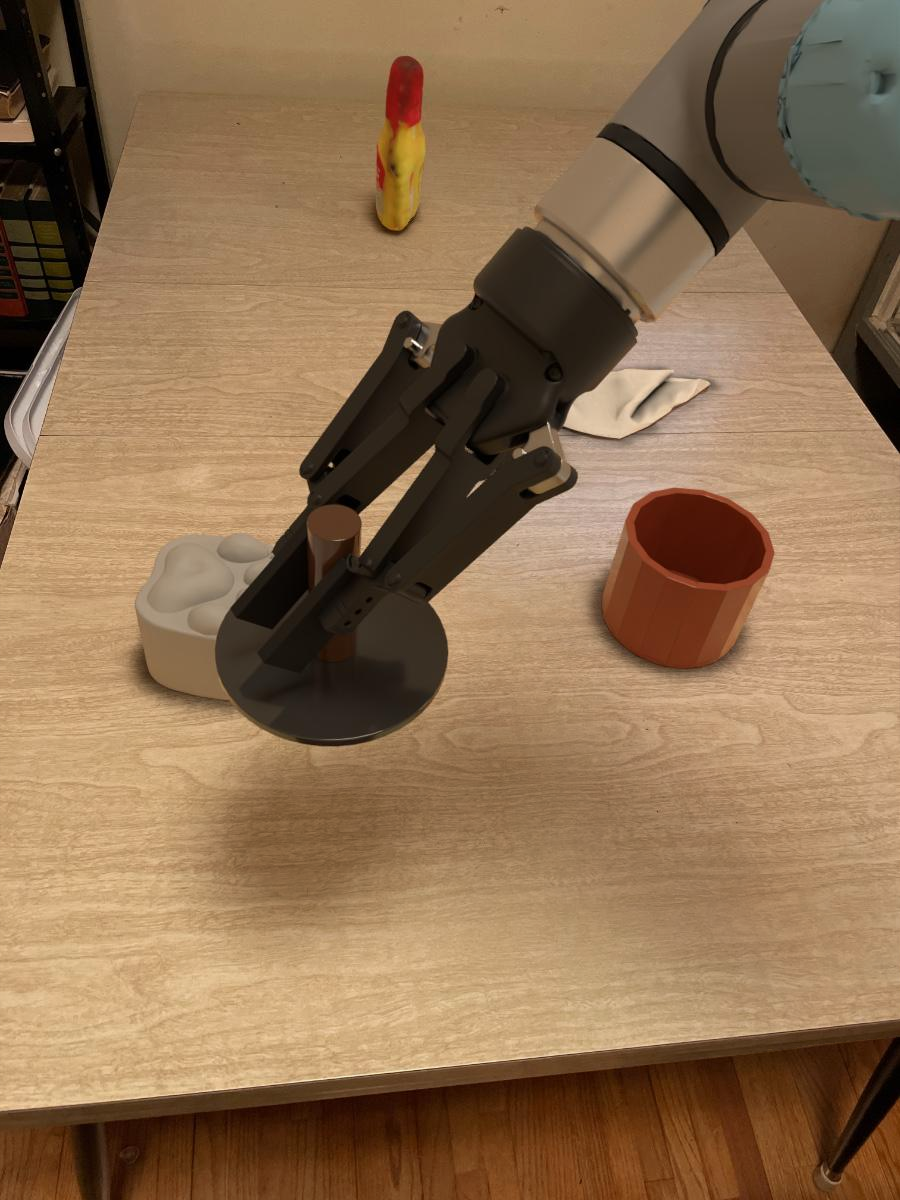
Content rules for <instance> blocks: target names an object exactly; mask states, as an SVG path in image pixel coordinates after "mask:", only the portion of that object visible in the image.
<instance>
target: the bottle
mask: <svg viewBox="0 0 900 1200" xmlns="http://www.w3.org/2000/svg"><path fill="white" fill-rule="evenodd" d="M389 69H390V70H389V75H388V80H387V86H386V96H385V112H384V115H385V116H384V117H385V119H384V120H385V121H384V125H383V127H382V129H381V131H380V134H379V137H378V139H377V143H376V161H375V163H376V165H375V166H376V167H375V171H376V173H375V209H376V214H377V218H378V219H379V221H380V223H381V225H383V226H384V227H385V228H386V229H388V230H391V231H396V232H398V231H399V232H400V231H402V230H404V228H405V227H406V226H408V224H409V223H410V222H409V221H411V220H412V219H413V218H414V217H415V215H416V214H417V210H418V208H417V207H419V205H420V198H421V190H422V182H423V175H424V167H425V160H426V152H427V151H426V150H427V147H426V146H427V145H426V144H427V143H426V136H425V133H424V131H423V129H422V112H423V111H422V106H423V95H424V92H423V91H424V89H423V88H424V79H425V75H424V69H423V67H422V65H421V63H420V62H419V61H418V60H417V59H416V58H414V57H412V56H410V55H401V56H398V57H396V58H395V59H394V61H393V62H392V63H391V66H390V68H389ZM412 217H413V218H412ZM411 218H412V219H411ZM410 219H411V220H410ZM381 221H382V222H381ZM408 222H409V223H408ZM406 223H407V224H406ZM402 227H403V228H402ZM395 228H398V229H395Z"/></svg>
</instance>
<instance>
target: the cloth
mask: <svg viewBox="0 0 900 1200" xmlns="http://www.w3.org/2000/svg"><path fill="white" fill-rule="evenodd" d="M674 374H675V369H640V368H625V369H621V370H618V371H613V370H612V371H611V372H610V373H609V374H608V375H607V376H606V377H605V378H604V380H603V381H602V382H601V383H600V384H599V385H598V386H597V387H596V388H595V389H594V390H592V391H590V392H586V393H583V394H582V395H580V396H579V397H578V398H577V399H576V400H575V401H574V402H573V404H572V406H571V408H570V410H569V412H568V415H567V418H566V421H565V423H564V425H563V427H565V428H567V429H571V430H573V431H577V432H581V433H585V434H587V435H588V434H589V435H593V436H599V437H605V438H612V439H619V440H621V439H622V438H624V437H627V436H629V435H632V434H634V433H636V432H639V431H641V430H643V429H645V428H647V427H649V426H651V425H652V424H653V423H656V421H658V420H660V419H661V418H662V417H664V416H665V415H668V413H670V412H672V409H673V408H675V407H677V406H680V405H682V404H684V403H686V402H688V401H689V400H691V399H692V398H693V397H695V396H696V395H698V394H699V393H701V392H702V391H703V390H704V389H706V388H708V387H709V386H710V385H711V383H710V381H708V380H705V379H703V378H696V379H693V378H680V377H672V376H673V375H674Z"/></svg>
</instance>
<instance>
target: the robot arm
mask: <svg viewBox="0 0 900 1200" xmlns="http://www.w3.org/2000/svg"><path fill="white" fill-rule="evenodd" d="M768 201H773V202H784V203H785V202H787V203H797V204H803V205H810V206H815V207H821V208H827V209H832V210H837V211H843V212H846V213H847V214H848V215H849V216H851V217H854V218H858V219H861V220H866V221H871V222H879V221H880V222H881V221H883V220H895V221H900V0H707V1H706V3H704V4H703V7H702V9H701V11H700V12H699V14H698V15H697V16H696V17H695V18H694V19H693V21H692V22H691V23H690V24H689V25H688V26H687V28H686V29H685V30H684V31H683V32H682V34H681V35H680V36H679V37H678V38H677V39H676V41H675V42H674V43H673V44H672V45H671V47H670V48H669V49H668V50H667V52H666V53H665V54H664V55H663V56H662V58H660V60H659V61H658V62H657V63H656V65H654V67H653V68H652V69H651V70H650V71H649V73H648V74H647V75H646V76H645V77H644V79H643V80H642V81H641V82H640V83H639V85H637V87H636V88H635V89H634V91H633V92H632V93H631V94H630V95H629V96H628V98H627V99H626V100H625V102H624V103H623V104H622V105H621V106H620V108H619V109H617V111H616V112H615V113H614V114H613V116H612V117H611V118H610V119H609V120H608V121H607V123H606V124H605V126H604V127H603V128H601V130H600V132H599V133H598V134H597V135H596V136H595V137H594V138H593V139H592V141H591V142H589V144H588V145H587V146H586V147H585V148H584V149H583V151H582V152H581V153H580V154H579V155H578V157H577V158H576V159H574V161H573V162H572V163H571V165H569V166H568V168H567V169H566V170H565V172H563V173H562V174H561V175H560V177H559V178H558V179H557V181H556V182H554V184H553V185H552V186H551V187H550V188H549V190H547V192H546V193H545V194H544V195H543V196H542V197H541V198H540V200H539V201H538V202H537V203H536V204H535V206H534V207H533V209H534V210H533V216H534V218H535V220H536V222H537V224H536V225H535V227H534V228H532V227H529V226H523V227H522V228H519V227H516V229H515V230H514V231H513V232H512V233H511V235H510V236H509V237H508V238H507V239H506V241H505V242H504V243H503V244H502V245H501V246H500V248H499V249H498V250H497V251H496V252H495V253H494V255H493V256H492V257H491V258H490V259H489V261H488V262H487V263H486V264H485V265H484V266H483V268H482V269H481V270H480V271H479V273H477V275H476V276H475V278H474V279H473V283H472V285H473V286H472V287H473V291H474V295H473V298H472V300H471V301H470V302H469V304H467V305H466V306H465V307H463V308H462V309H461V310H459V311H457V312H455V313H454V314H451V315H450V316H448V317H447V318H446V319H445V320H444V322H442V323H436V322H428V321H423V320H420V319H419V318H418V316H416V315H415V314H414V313H413V312H412V311H410V310H403V311H401V312H399V313H398V314H397V315H396V316H395V318H394V320H393V322H392V325H391V327H390V330H389V331H388V332H389V333H388V335H387V338H386V339H385V342H384V344H383V348H382V349H381V352H380V353H379V355H378V356H377V357H376V359H375V360H374V361H373V363H372V364H371V366H370V367H369V368H368V370H367V371H366V372H365V374H364V375H363V376H362V378H361V379H360V381H359V382H358V384H357V385H356V387H355V388H354V389H353V390H352V392H351V393H350V395H349V396H348V398H347V399H346V400H345V402H344V403H343V404H342V406H341V407H340V408H339V410H338V411H337V413H336V414H335V416H334V417H333V418H332V420H331V421H330V422H329V424H328V425H327V426H326V428H325V430H324V431H323V432H322V434H321V435H320V436H319V438H318V439H317V441H316V442H315V443H314V445H313V446H312V448H311V449H310V450H309V452H308V453H307V454H306V456H305V457H304V459H303V460H302V461H301V464H300V465H299V470H298V473H299V476H300V477H301V478H302V479H303V480H306V483H307V488H308V492H309V493H308V496H307V497H306V498H307V499H306V506H305V508H304V509H303V510H302V511H301V512H300V514H299V515H298V516H297V517H296V518H295V520H293V522H292V523H291V524H290V526H288V528H287V529H286V530H285V531H284V532H283V534H282V535H281V536H280V537H279V538H278V539H277V541H276V542H275V543H274V546H273V547H274V548H273V550H272V553H273V554H274V558H273V559H272V560H271V561H270V562H269V563H268V565H267V566H266V567H265V568H264V569H263V570H262V572H261V573H260V574H259V575H258V576H257V577H256V578H255V580H254V581H253V582H252V583H251V584H250V585H249V587H248V588H247V589H246V590H245V591H244V592H243V594H242V595H241V596H240V597H239V598H238V599H237V601H236V602H235V603H234V604H233V605H232V606H231V607H230V609H231V611H232V612H233V614H234V616H235V617H236V618H238V619H241V620H244V621H247V622H250V623H253V624H256V625H259V626H262V627H265V628H269V629H272V630H273V628H274V627H275V626H276V625H277V624H278V623H279V622H280V620H281V619H282V618H283V617H284V616H285V615H286V614H287V613H288V611H289V610H290V609H291V608H292V607H293V606H294V605H295V603H296V602H297V601H298V600H299V599H300V598H301V597H302V595H303V594H304V593H305V592H306V591H307V590H308V557H307V519H308V517H309V515H310V514H311V513H312V512H313V511H314V510H315V509H317V508H319V507H321V506H325V505H332V504H336V505H343V506H346V507H349V508H351V509H353V510H354V511H355V512H356V513H357V514H358V515H359V516H360V515H361V513H363V511H364V510H365V509H366V508H368V506H370V505H371V504H372V503H373V502H374V501H375V500H376V499H377V498H379V496H380V495H381V494H383V493H384V492H385V491H386V490H387V489H388V488H389V487H390V486H391V485H392V484H394V483H395V482H396V481H397V480H398V479H399V478H400V477H401V476H402V475H403V474H404V473H406V471H408V470H409V468H411V467H412V466H413V465H414V464H415V463H416V462H417V461H419V459H420V458H422V457H423V456H424V455H425V454H426V453H427V452H428V451H429V450H430V449H431V448H432V447H433V446H434V453H433V454H432V456H431V457H430V458H429V459H428V461H427V463H426V464H425V465H424V467H422V469H421V471H420V472H419V473H418V475H417V476H416V478H415V479H414V481H412V483H411V484H410V486H409V488H408V489H407V490H406V491H405V493H404V494H403V496H402V497H401V498H400V500H399V501H398V502H397V504H396V506H395V507H394V508H393V510H392V511H391V513H390V514H389V515H388V516H387V518H386V519H385V520H384V522H383V524H382V525H381V526H380V528H379V529H378V530H377V532H376V534H375V535H374V536H373V537H372V539H371V541H370V542H369V543H368V544H367V546H366V547H365V549H363V551H362V552H361V556H360V557H357V556H354V555H352V554H350V553H349V555H348V557H347V559H346V558H344V557H341V558H340V559H339V560H338V561H337V562H336V564H335V565H334V566H333V567H332V568H331V569H330V570H329V572H328V573H327V574H326V575H325V576H324V577H323V578H322V580H321V581H320V582H319V583H318V584H317V585H316V586H315V587H314V589H313V590H312V591H311V592H310V593H309V594H308V595H307V597H306V598H305V599H304V600H303V601H302V602H301V603H300V604H299V606H298V607H297V608H296V609H295V610H294V611H293V612H292V614H291V615H290V616H289V617H288V618H287V619H286V620H285V621H284V623H283V624H282V625H281V626H280V627H279V628H278V629H277V631H276V632H275V633H274V634H273V635H272V636H271V637H270V638H269V640H268V641H267V642H266V643H265V644H264V645H263V646H262V648H261V649H260V650H259V651H258V652H257V653H258V655H259V656H260V658H261V660H262V661H263V663H265V664H269V665H272V666H276V667H279V668H283V669H286V670H290V671H294V672H297V673H301V672H302V671H303V669H304V668H305V667H306V666H307V665H308V664H309V663H310V662H311V661H312V659H313V658H314V657H315V656H316V655H317V654H318V653H319V652H320V651H321V649H322V648H323V647H324V646H325V645H326V644H327V643H328V642H329V641H330V639H331V638H332V637H333V636H334V635H335V634H338V635H341V636H345V635H347V634H349V633H351V632H352V631H353V630H354V629H355V628H356V627H357V626H358V625H359V623H361V622H362V620H363V619H364V617H366V616H367V615H368V614H369V613H370V612H371V610H372V609H373V608H374V607H375V606H376V605H377V604H378V603H379V602H380V601H381V599H382V598H383V597H384V596H386V595H387V594H389V593H395V594H397V595H399V596H401V597H404V598H406V599H408V600H411V601H413V602H415V603H418V604H426V603H427V602H429V603H430V601H432V600H433V598H435V597H436V596H437V595H438V594H439V593H441V591H443V590H444V589H445V588H446V587H447V586H448V585H450V583H452V582H453V580H455V579H456V578H457V577H458V576H459V575H460V574H461V573H462V572H464V571H465V570H466V569H467V568H468V567H470V566H471V564H473V563H474V562H475V561H476V560H477V559H478V558H480V557H481V555H483V554H484V553H485V552H486V551H487V550H488V549H489V548H491V546H493V545H494V544H495V543H496V542H497V541H498V540H499V539H500V538H502V537H503V536H505V534H506V533H507V532H508V531H509V530H511V528H513V527H514V526H515V525H516V524H517V523H518V522H519V521H520V520H522V519H523V518H524V517H526V515H527V514H528V513H529V512H530V511H531V510H533V509H534V508H535V507H536V506H537V505H539V504H542V503H544V502H547V501H549V500H550V499H553V498H555V497H557V496H559V495H561V494H562V495H563V494H564V493H567V492H568V491H570V490H572V489H573V488H574V487H575V486H576V484H577V482H578V480H579V473H578V471H577V469H576V468H575V467H574V466H573V465H571V464H570V463H569V462H568V461H567V460H566V457H565V454H564V451H563V447H562V442H561V439H560V435H559V431H561V429H562V428H563V427H564V426H563V425H564V423H565V421H566V418H567V415H568V412H569V410H570V408H571V406H572V404H573V402H574V401H575V400H576V399H577V398H578V397H579V396H580V395H582V394H583V393H586V392H590V391H592V390H594V389H595V388H596V387H597V386H598V385H599V384H600V383H601V382H602V381H603V380H604V378H605V377H606V376H607V375H608V374H609V373H610V372H611V371H613V370H614V369H615V367H617V366H618V365H619V363H621V361H622V360H623V359H624V358H625V357H626V356H627V355H628V353H629V352H630V351H631V350H632V349H633V348H634V347H635V346H636V345H637V343H638V339H637V337H638V336H639V330H638V328H637V327H636V324H637V323H638V322H639V321H640V322H643V323H646V324H651V323H656V322H657V321H658V320H659V319H660V317H662V316H663V314H664V313H665V312H666V311H667V310H668V309H669V308H670V307H671V306H672V304H674V302H675V301H676V300H677V299H678V298H679V297H680V296H681V294H682V293H683V292H684V291H685V290H686V289H687V288H688V287H689V286H690V285H691V283H692V282H693V281H694V280H695V279H696V278H697V277H698V276H699V275H700V274H701V272H702V271H703V270H704V269H705V268H706V267H707V266H708V264H709V263H711V261H712V260H713V259H714V258H715V257H717V256H719V254H720V253H721V252H722V251H723V250H724V248H725V247H726V245H727V244H728V243H729V242H730V241H731V240H732V238H733V237H735V236H736V235H737V233H738V232H739V231H740V230H741V229H742V228H743V227H744V226H745V225H746V224H747V223H748V222H749V221H750V219H752V217H753V216H754V215H755V214H756V213H757V212H758V211H759V210H760V209H761V208H762V207H763V206H764V205H765V203H767V202H768ZM524 445H525V446H524ZM520 446H524V447H523V448H521V447H520ZM517 447H518V448H517ZM466 448H467V449H468V450H470V451H471V452H469V451H468V450H466ZM514 448H516V449H515V450H514V451H513V453H512V457H513V459H514V460H512V461H510V462H508V463H507V464H505V465H504V466H502V467H501V468H499V469H497V468H496V467H497V466H498V465H499V463H500V462H501V461H502V459H503V458H504V457H505V455H506V454H507V452H508V451H509V450H511V449H514ZM330 464H332V466H330ZM480 482H481V484H480V485H478V487H477V488H475V487H476V486H477V484H478V483H480ZM474 488H475V489H474Z"/></svg>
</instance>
